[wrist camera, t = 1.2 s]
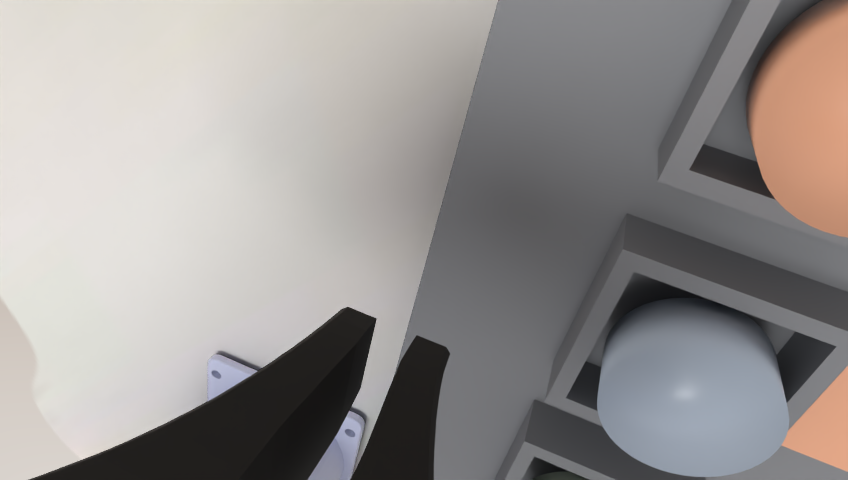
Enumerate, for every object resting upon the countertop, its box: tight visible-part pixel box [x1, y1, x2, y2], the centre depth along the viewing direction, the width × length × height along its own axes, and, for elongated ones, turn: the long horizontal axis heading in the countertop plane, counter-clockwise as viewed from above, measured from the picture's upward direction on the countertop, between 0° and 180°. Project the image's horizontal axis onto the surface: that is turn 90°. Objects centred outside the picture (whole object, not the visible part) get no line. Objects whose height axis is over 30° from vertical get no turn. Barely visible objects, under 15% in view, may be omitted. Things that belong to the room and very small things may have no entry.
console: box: [394, 0, 848, 480], centre depth 18 cm, size 26×16×4 cm, turn 167°
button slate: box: [597, 298, 789, 477], centre depth 16 cm, size 4×4×2 cm
